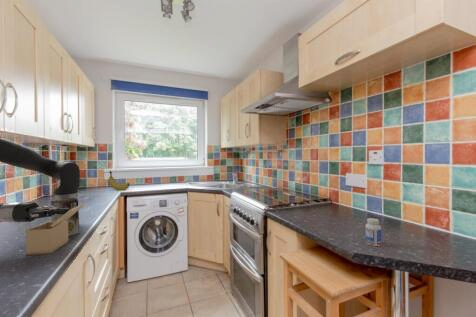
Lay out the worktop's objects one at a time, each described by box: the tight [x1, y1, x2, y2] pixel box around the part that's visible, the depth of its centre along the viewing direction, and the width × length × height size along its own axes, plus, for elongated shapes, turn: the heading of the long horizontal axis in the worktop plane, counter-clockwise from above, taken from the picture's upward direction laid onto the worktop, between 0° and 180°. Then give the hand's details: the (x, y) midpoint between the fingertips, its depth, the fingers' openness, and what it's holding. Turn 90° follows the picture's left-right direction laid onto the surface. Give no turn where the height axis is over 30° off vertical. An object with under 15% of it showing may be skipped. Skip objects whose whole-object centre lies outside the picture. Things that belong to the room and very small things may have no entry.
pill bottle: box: [364, 217, 383, 247], centre depth 87 cm, size 6×5×10 cm
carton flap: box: [50, 203, 86, 227], centre depth 87 cm, size 10×1×9 cm
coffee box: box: [50, 198, 80, 237], centre depth 100 cm, size 9×6×16 cm
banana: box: [107, 170, 130, 191], centre depth 226 cm, size 23×6×20 cm, turn 83°
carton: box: [25, 221, 70, 256], centre depth 86 cm, size 11×8×9 cm
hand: (69, 210), depth 87 cm, fingers closed
